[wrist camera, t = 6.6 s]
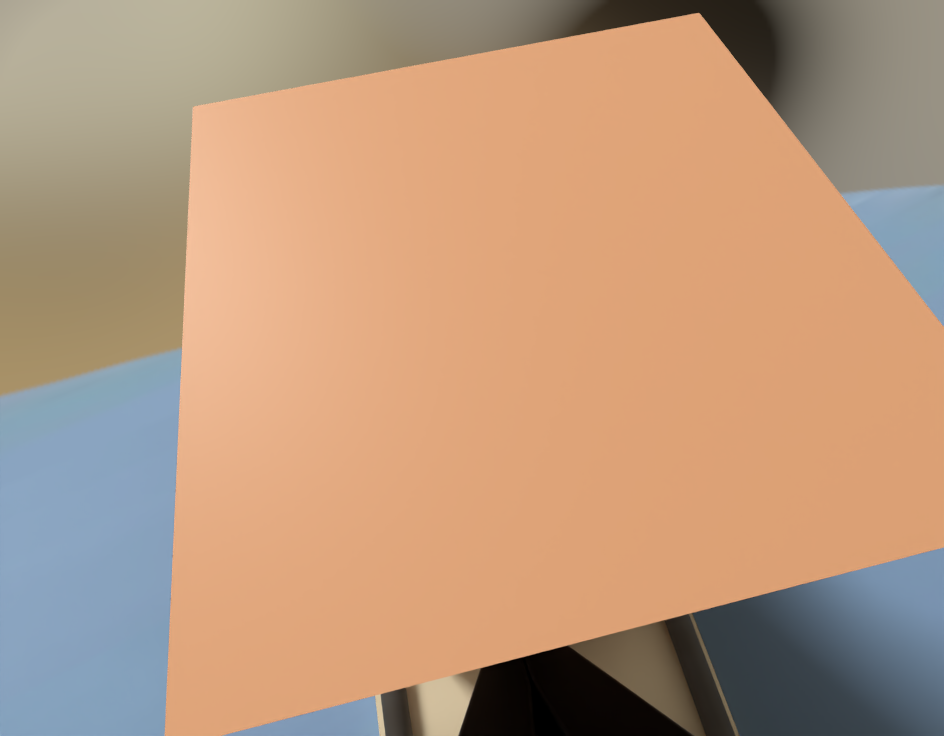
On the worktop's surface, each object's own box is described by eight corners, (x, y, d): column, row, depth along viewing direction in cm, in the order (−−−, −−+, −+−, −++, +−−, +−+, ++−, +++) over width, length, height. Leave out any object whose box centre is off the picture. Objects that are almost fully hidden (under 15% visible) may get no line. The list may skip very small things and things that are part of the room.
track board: (794, 930, 11) (846, 982, 9) (428, 1041, 10) (416, 1117, 9) (566, 318, 18) (573, 288, 17) (345, 367, 18) (329, 340, 16)
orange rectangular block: (629, 603, 13) (1086, 510, 3) (430, 654, 12) (162, 751, 2) (567, 419, 15) (699, 11, 5) (398, 458, 15) (192, 106, 5)
